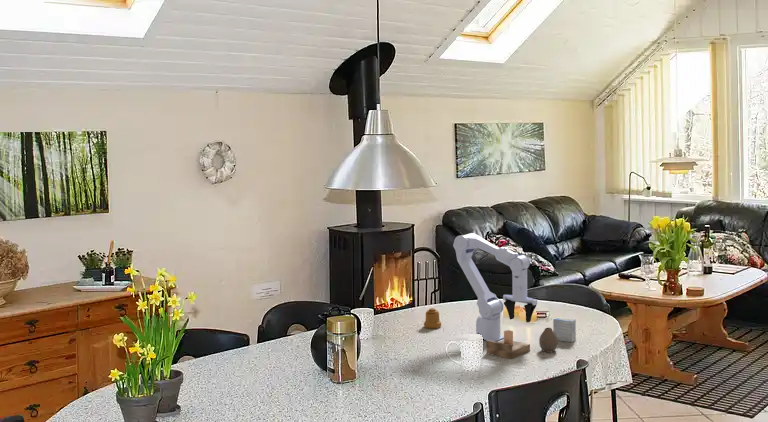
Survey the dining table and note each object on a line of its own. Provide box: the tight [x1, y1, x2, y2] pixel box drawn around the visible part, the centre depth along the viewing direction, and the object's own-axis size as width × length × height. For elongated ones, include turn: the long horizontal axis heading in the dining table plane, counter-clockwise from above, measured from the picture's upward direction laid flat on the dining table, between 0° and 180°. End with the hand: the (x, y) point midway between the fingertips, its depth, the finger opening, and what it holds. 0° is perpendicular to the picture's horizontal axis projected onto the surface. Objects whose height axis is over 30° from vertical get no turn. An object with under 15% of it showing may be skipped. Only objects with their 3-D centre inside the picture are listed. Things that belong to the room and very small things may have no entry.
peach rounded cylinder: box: [503, 329, 514, 346], centre depth 298 cm, size 3×3×6 cm
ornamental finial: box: [423, 307, 442, 330], centre depth 336 cm, size 8×8×8 cm
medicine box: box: [552, 316, 577, 343], centre depth 312 cm, size 8×4×9 cm, turn 58°
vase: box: [538, 327, 559, 353], centre depth 298 cm, size 7×7×9 cm
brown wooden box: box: [485, 339, 531, 360], centre depth 298 cm, size 11×13×5 cm
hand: (520, 320), depth 308 cm, fingers open, 7 cm apart
